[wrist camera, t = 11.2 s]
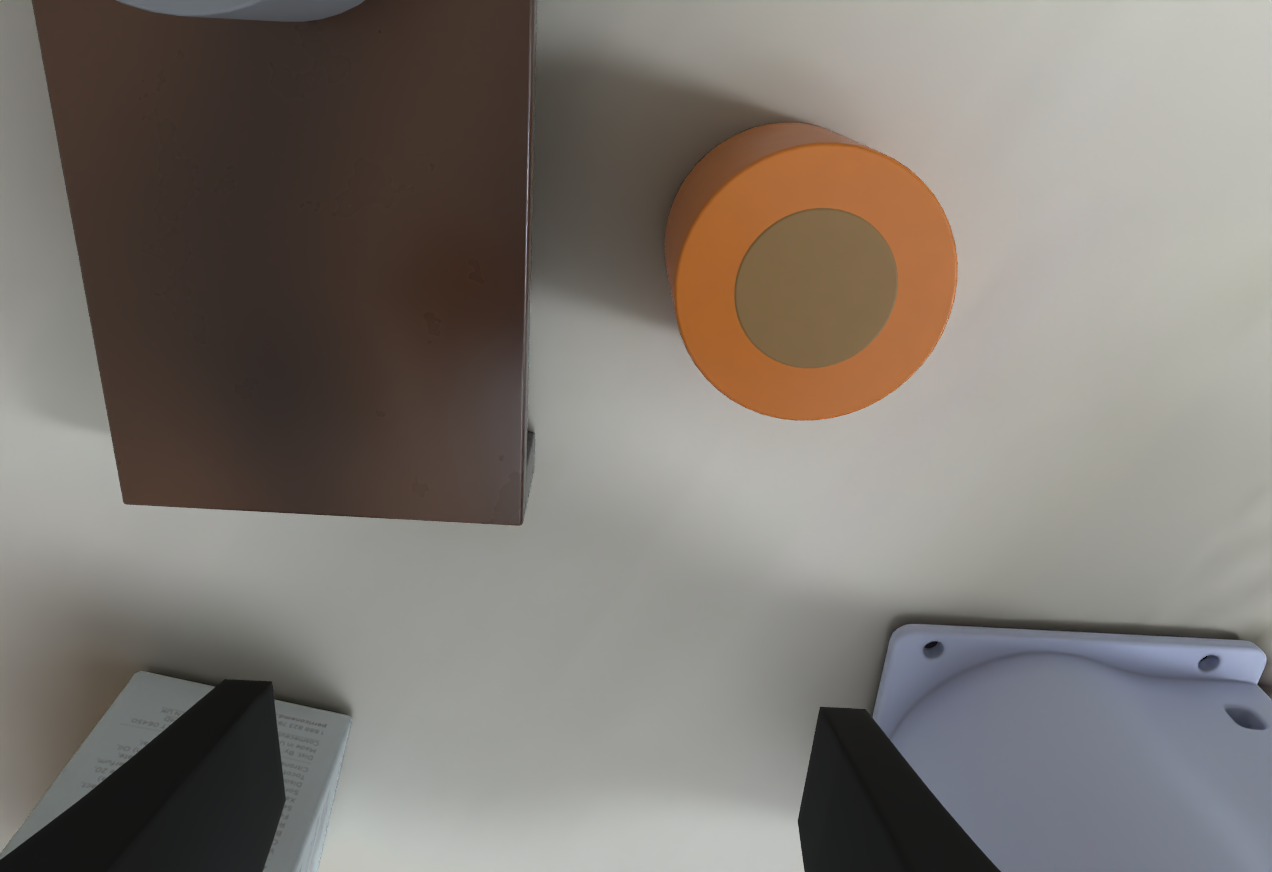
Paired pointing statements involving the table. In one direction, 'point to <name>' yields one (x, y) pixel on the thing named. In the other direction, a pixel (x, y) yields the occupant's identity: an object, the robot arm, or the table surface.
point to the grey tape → (248, 8)
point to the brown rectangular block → (306, 251)
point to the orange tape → (807, 271)
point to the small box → (160, 700)
